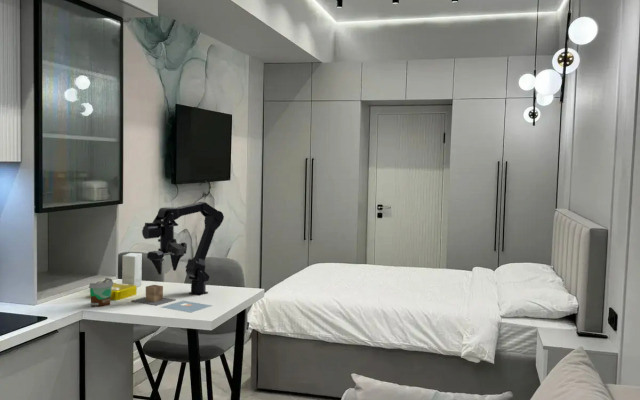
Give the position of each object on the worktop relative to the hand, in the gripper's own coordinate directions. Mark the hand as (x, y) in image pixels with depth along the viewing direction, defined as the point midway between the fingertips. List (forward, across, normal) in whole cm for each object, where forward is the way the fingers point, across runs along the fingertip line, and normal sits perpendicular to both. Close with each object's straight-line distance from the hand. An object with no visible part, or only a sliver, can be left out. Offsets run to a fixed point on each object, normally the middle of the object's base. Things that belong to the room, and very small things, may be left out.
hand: (167, 272), depth 255 cm
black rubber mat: (+11, -7, +2) cm, 13 cm away
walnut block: (+11, -7, +2) cm, 13 cm away
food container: (+11, -23, +14) cm, 29 cm away
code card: (+12, -7, -16) cm, 21 cm away
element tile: (+12, -8, +23) cm, 28 cm away
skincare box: (+12, +9, +30) cm, 34 cm away
